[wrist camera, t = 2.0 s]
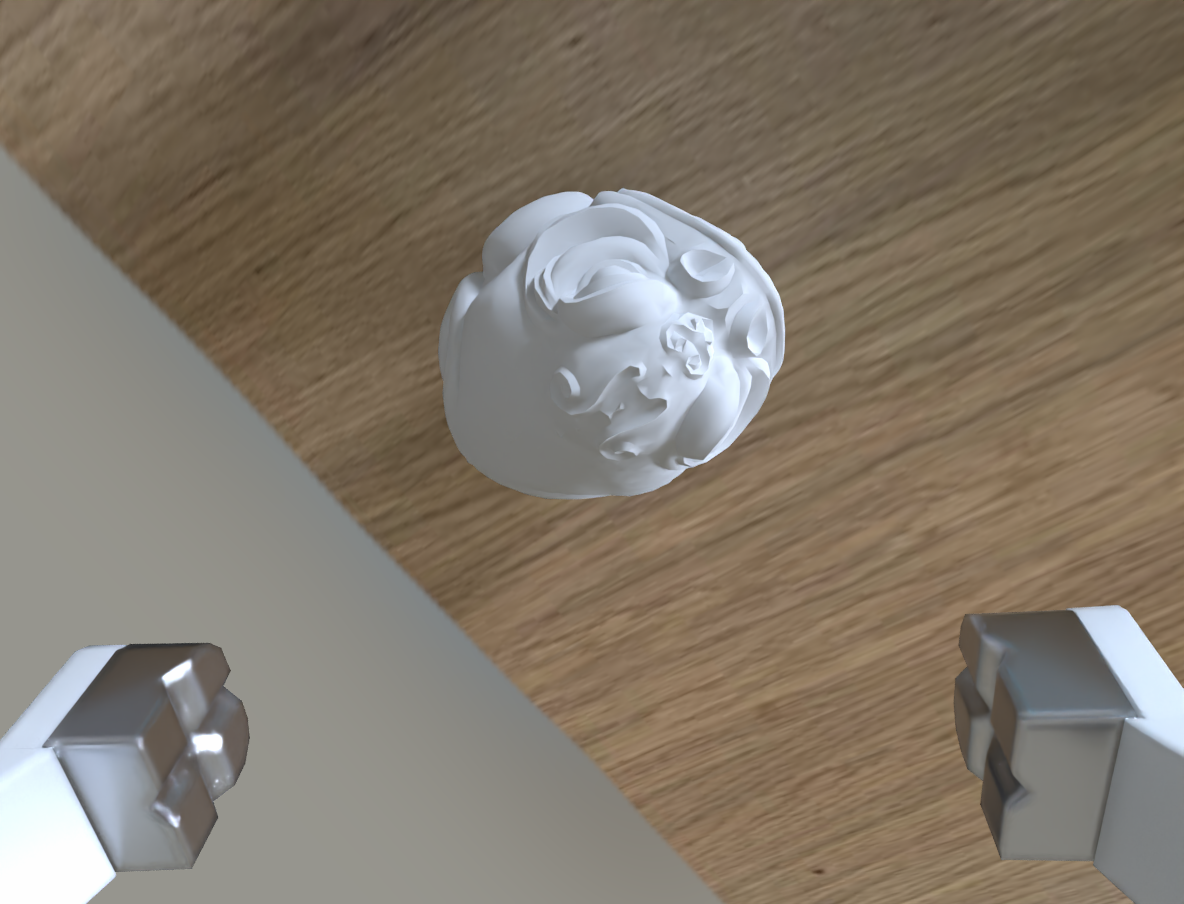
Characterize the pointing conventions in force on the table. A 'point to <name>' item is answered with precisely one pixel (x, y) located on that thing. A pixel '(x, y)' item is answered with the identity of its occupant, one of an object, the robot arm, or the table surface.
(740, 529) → the table surface
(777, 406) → the table surface
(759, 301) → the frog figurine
